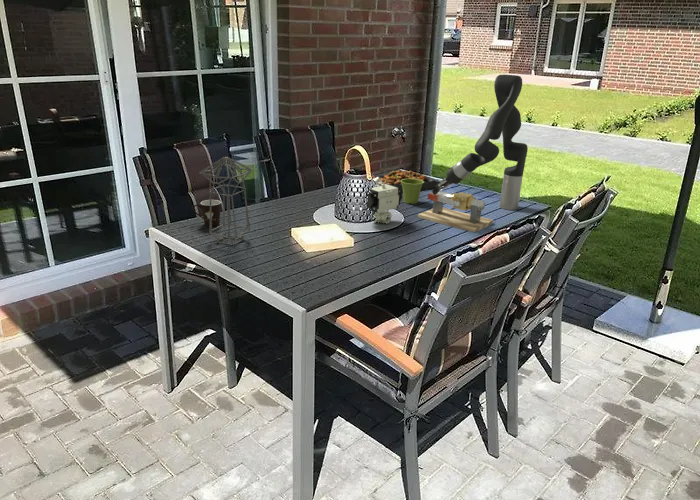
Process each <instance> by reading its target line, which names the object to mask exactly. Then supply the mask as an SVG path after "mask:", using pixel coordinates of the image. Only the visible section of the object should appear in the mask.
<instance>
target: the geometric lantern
mask: <svg viewBox="0 0 700 500" xmlns="http://www.w3.org/2000/svg"><path fill="white" fill-rule="evenodd" d="M240 166H242V167H240ZM223 167H225V168H226V172H227V173H226V174H227V176H220V174H221V171H222V169H223ZM231 168H232V169H231ZM243 170H245V171H244V172H242V171H243ZM237 171H238V173H240V174H238V173H237ZM252 171H253V169H252V168H251V167H249V166H247V165H245V164H243V163H241V162H239V161H237V160H235V159H233V158H230V157H229V156H223V157H222V158H221V157H220V159H218V160H216V161H215V162H213V163H212V164H211V165H209V166H207V167H205V168H204V169H202V170H201V171H199V174H200V175H202V176H204V178H205V179H207V180H208V181H209V200H210V227H209V229H208V231H209V233H210V235H212V236H214V237H215V238H216V243H218V244H223V245H228V246H236V245H237V244H239V243H240V242H243V241H244V235H245V234H247V233H248V232H250V231H251V226H250V219H249V209H248V203H247V202H248V201H247V193H246V192H247V191H246V189H247V187H246V185H245V180H246V178H247V177H248V176H249V174H250V173H251V172H252ZM208 172H209V173H208ZM211 172H212V173H211ZM230 173H231V177H230ZM213 178H215V180H216V182H214V181H213V180H212V179H213ZM236 178H237V179H236ZM218 179H219V180H220V181H219V182H218ZM240 179H241V180H240ZM227 180H229V181H228V183H227V184H226V183H225V182H226V181H227ZM232 180H234V181H235V182H236V183H237V184H236V185H230V183H232V182H231V181H232ZM241 183H242V186H239V184H241ZM215 185H218V186H216V187H215ZM225 187H227V192H226V191H225ZM230 187H233V188H234V190H233V192H232V193H231V194H230ZM218 188H220V189H221V190H222V193H218V192H214V191H213V190H215V189H218ZM238 188H239V189H243V190H240V191H238V192H236V189H238ZM242 192H243V194H244V195H243V196H244V204H245V216H246V225H241V224H236V217H235V216H236V215H235V205H234V198H233V197H234V196H235V195H237V194H239V193H242ZM212 194H215V195H219V196H222V202H223V203H222V205H223V206H222V207H223V208H222V210H223V213H222V215H223V216H222V220H223V221H222V222H223V223H222V224H219V225H218V226H215V228H213V227H212V212H211V200H212ZM225 197H226V199H225ZM230 197H231V201H230ZM225 200H226V201H225ZM225 202H226V205H225ZM230 202H231V203H230ZM225 206H226V208H225ZM231 206H232V214H233V223H232V218H231V217H232V215H231ZM225 209H227V223H226V222H225V219H226V217H225V216H226V215H225V213H226V212H225ZM225 225H227V226H228V227H227V228H228V229H226V227H225ZM230 226H234V231H231V227H230ZM221 227H223V228H224V232H222V233H221V234H219V233H214V232H213V231H215V230H217V229H219V228H221ZM237 227H240V228H241V227H242V228H245V229H244V231H243V232H237ZM231 234H234V235H235V236H233V235H231ZM232 239H233V240H232ZM238 239H241V240H238ZM222 240H223V241H229V242H231V243H228V242H227V243H226V242H220V241H222ZM236 240H238V241H237V242H236ZM233 242H234V243H233Z"/></svg>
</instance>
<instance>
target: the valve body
mask: <svg viewBox="0 0 700 500" xmlns="http://www.w3.org/2000/svg"><path fill="white" fill-rule="evenodd" d="M431 193H432V192H431ZM432 194H433V193H432ZM436 195H439V197H443V198H447V199H450V200H454V201H457V200H458V201H459V202H460V206H459V207H454V206H453V205H452V207H453V209H456V210H462V211H465V212H466V211H468V210H470V213H469V214H470V223H474V224H476V223H478V222H480V217H482V212H483V211H484V210H485V207H486V201H485V200H481V199H477V198H476V197H475V196H474V194H472V193H466V192H462V191H459V192H458V193H457V192H453V193H451V192H450V193H449V192H445V191H442V190H441V191H439V192H438V193H437V194H436ZM432 201H433V200H432ZM443 208H444V203H443V202H439V201H437V202H436V201H433V202H432V209H433V210H432V213H435V214H439V213H442V211H443Z"/></svg>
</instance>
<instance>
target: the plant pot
mask: <svg viewBox="0 0 700 500" xmlns="http://www.w3.org/2000/svg"><path fill="white" fill-rule="evenodd" d="M401 182H402V187H403V192H402V199H403V202H404V203H405V204H412V205H415V204H418V203H419V198H420V194H421V191H422V190H421V187H422V184H423V183H424V181H422V180H418V179H402V180H401Z"/></svg>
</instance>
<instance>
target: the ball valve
mask: <svg viewBox="0 0 700 500" xmlns="http://www.w3.org/2000/svg"><path fill="white" fill-rule="evenodd" d="M370 191H371V193H369V194H368V202H367V208H371V210H370V212H374V213H375V214H374V213H373V214H374V215H373V214H372V215H373V216H375V218H376V219H375V220H374V221H373V222H372V223H374V222H375V224H379V222H380V223H381V224H384V223H386V224H390V223H391V221H392V213H391V212H390V211H391V210H395V209H399V206H401V201H402V200H403V192H401V191H400V188H398V187H395V186H393V185H385V184H382V186H377V187H374V188H372V189H370ZM376 222H378V223H376Z"/></svg>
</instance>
